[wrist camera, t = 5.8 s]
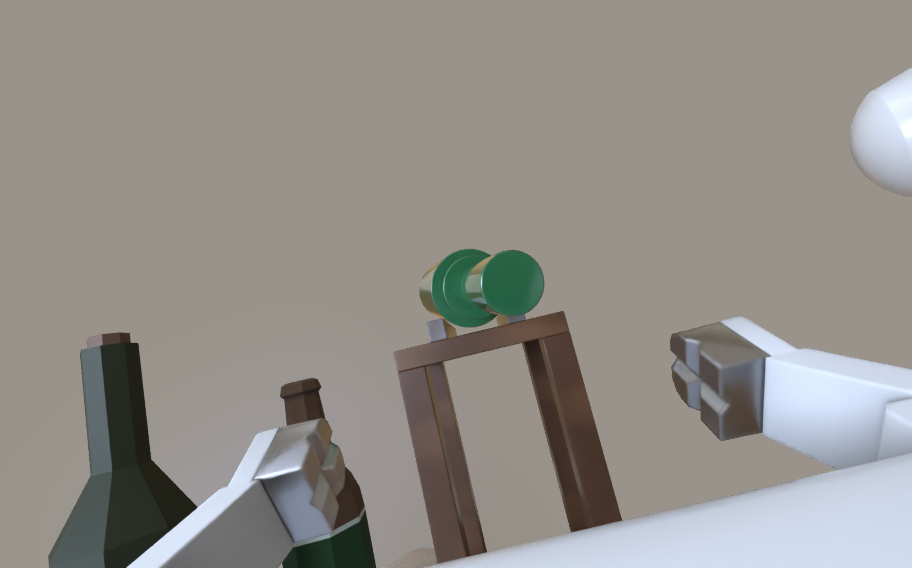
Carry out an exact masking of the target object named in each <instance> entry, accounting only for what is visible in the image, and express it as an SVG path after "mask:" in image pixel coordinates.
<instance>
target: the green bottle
mask: <svg viewBox="0 0 912 568" xmlns="http://www.w3.org/2000/svg"><path fill="white" fill-rule="evenodd" d="M543 290H544V277H543V273H542V270H541V268H540V266H539V265H538V263H537V262H536V261H535V260H534V259H533V258H532V257H531V256H529V255H528V254H526V253H524V252H521V251H517V250H507V251H503V252H500V253H497V254H495V255H493V256H491V255H489V254H487V253H485V252H483V251H480V250H476V249H464V250H459V251H456V252H453V253H451V254H450V255H448V256H446V257H445V258H444V259H443V260H441V261H440V262H438V263H437V264H436V265H434V266H433V267H432V268H431V269H429V270H428V271H427V272H426V273H425V275H424V276H423V278H422V280H421V283H420V289H419V291H420V298H421V301H422V303H423V305H424V306H425V308H426V309H427V310H428V311H429V312H430V313H431V314H433V315H435V316H437V317H439V318H441V319H444V320H446V321H448V322H451V323H453V324H455V325H458V326H462V327H477V326H481V325H484V324H486V323H488V322H490V321H491V320H493V319H494V318H495V317H496V316H497V315H498V314H500V315H506V316H519V315H522V314H525V313H527V312H529V311H530V310H532V309H533V308H534V307H535V306H536V305H537V304H538V302H539V301H540V299H541V297H542V294H543Z"/></svg>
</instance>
